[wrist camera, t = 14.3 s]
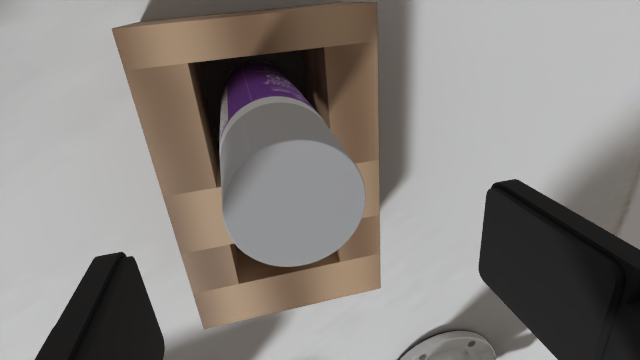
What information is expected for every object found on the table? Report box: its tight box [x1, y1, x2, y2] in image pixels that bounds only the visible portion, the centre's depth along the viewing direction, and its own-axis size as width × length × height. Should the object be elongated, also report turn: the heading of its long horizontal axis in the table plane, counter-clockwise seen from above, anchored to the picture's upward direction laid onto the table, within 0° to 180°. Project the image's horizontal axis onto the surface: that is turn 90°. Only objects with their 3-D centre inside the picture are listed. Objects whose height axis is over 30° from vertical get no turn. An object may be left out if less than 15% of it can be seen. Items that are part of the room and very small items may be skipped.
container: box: [219, 61, 366, 267], centre depth 18 cm, size 5×5×15 cm
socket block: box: [112, 2, 381, 329], centre depth 24 cm, size 12×18×6 cm, turn 5°
